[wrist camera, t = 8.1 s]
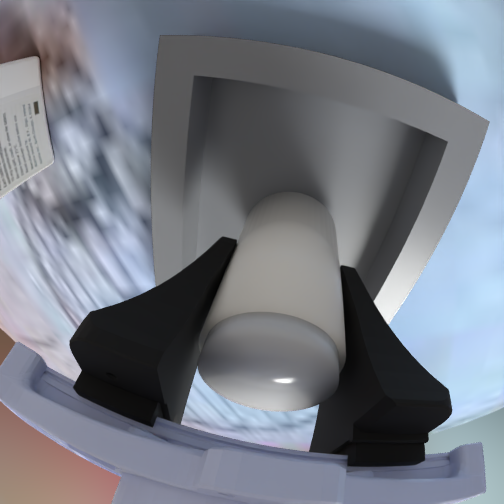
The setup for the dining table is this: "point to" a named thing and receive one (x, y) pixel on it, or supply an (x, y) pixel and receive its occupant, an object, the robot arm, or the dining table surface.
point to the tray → (304, 154)
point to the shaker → (278, 310)
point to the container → (22, 124)
